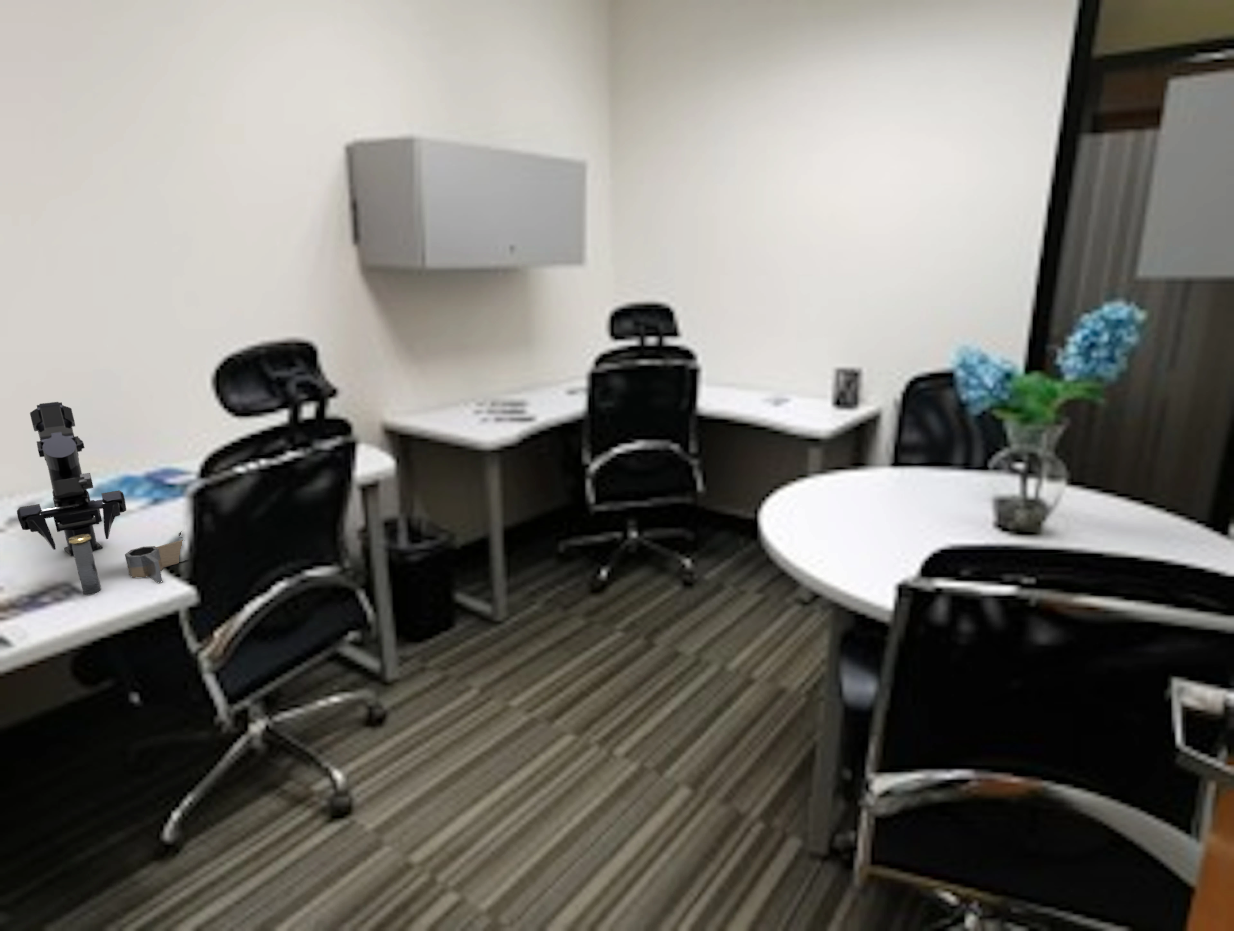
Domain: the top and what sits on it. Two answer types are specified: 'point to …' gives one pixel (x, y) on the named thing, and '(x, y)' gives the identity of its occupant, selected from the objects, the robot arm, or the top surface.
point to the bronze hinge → (152, 559)
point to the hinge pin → (85, 563)
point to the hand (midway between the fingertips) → (81, 543)
